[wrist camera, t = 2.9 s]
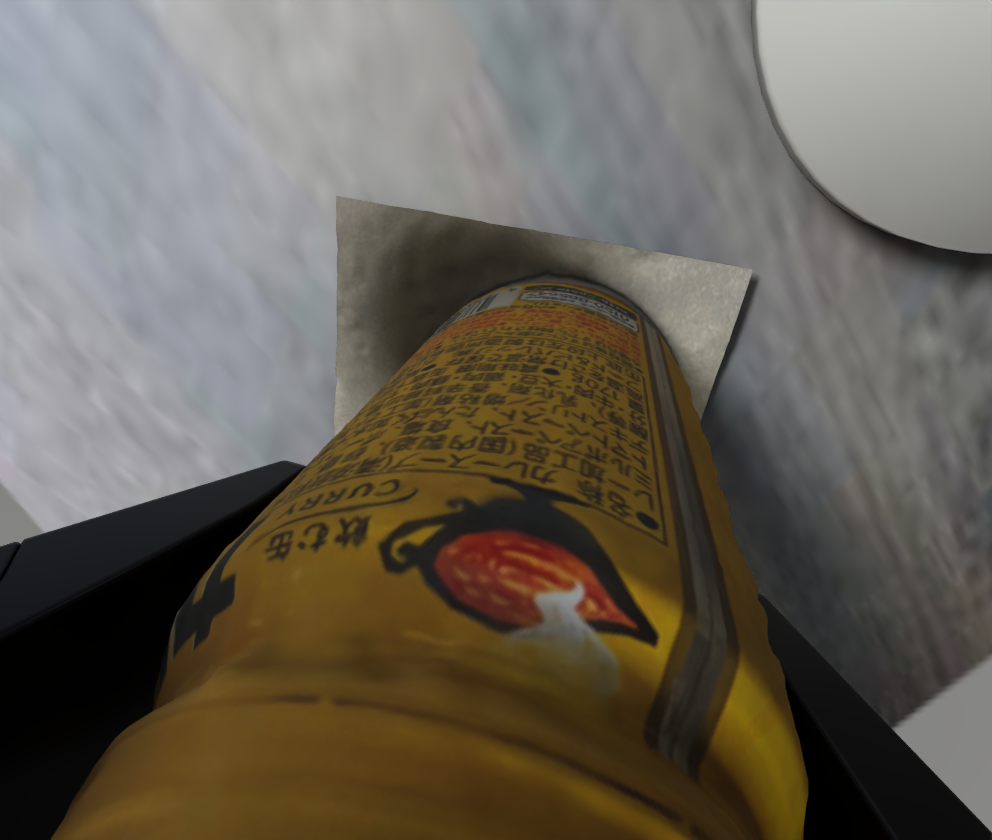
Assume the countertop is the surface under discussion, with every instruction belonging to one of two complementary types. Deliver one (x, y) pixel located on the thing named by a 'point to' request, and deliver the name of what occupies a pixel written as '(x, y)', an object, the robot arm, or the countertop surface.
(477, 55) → the countertop surface
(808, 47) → the coaster
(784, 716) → the condiment
